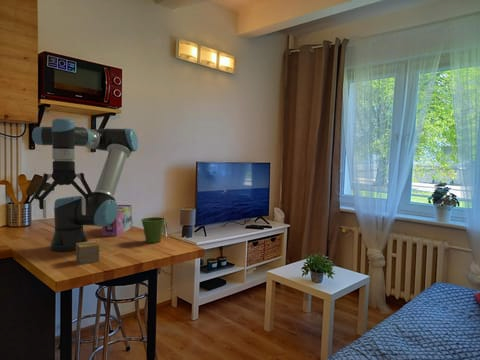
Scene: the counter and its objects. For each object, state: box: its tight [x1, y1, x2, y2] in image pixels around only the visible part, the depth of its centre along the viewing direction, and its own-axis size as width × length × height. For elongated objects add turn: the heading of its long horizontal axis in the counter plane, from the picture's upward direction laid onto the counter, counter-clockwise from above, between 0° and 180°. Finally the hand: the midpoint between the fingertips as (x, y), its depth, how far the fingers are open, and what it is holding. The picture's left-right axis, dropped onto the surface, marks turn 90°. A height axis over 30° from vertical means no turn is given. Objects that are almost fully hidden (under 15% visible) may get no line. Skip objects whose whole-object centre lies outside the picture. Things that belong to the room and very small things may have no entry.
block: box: [75, 240, 100, 265], centre depth 138 cm, size 7×7×7 cm
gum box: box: [102, 204, 133, 237], centre depth 191 cm, size 24×8×14 cm, turn 178°
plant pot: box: [140, 216, 166, 244], centre depth 171 cm, size 12×12×11 cm
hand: (64, 216), depth 132 cm, fingers open, 13 cm apart
